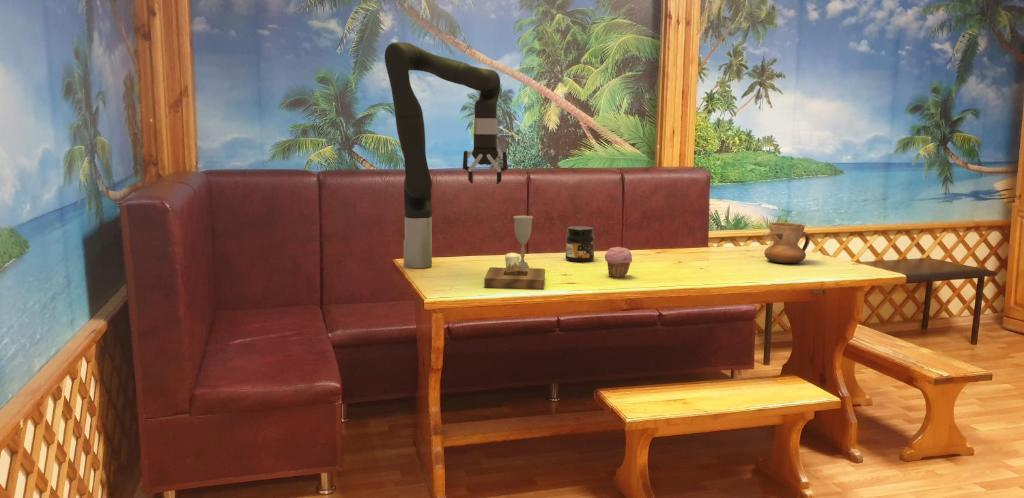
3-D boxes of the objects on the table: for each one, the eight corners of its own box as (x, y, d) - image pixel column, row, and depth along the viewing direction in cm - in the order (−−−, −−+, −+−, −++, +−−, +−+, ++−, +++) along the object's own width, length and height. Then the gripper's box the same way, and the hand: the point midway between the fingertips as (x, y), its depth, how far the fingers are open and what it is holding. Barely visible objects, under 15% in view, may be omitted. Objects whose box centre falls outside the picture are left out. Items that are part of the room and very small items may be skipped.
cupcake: (599, 275, 265) (600, 245, 263) (620, 273, 269) (621, 244, 267) (615, 280, 257) (616, 249, 255) (636, 278, 261) (638, 247, 260)
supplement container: (564, 262, 288) (565, 229, 286) (566, 257, 298) (566, 225, 296) (593, 263, 286) (594, 230, 284) (594, 258, 297) (595, 226, 295)
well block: (484, 287, 243) (484, 278, 242) (489, 276, 261) (489, 267, 260) (543, 289, 242) (543, 279, 241) (544, 277, 259) (544, 268, 259)
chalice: (530, 271, 270) (531, 218, 267) (510, 270, 271) (511, 217, 268) (534, 267, 277) (534, 216, 274) (514, 266, 278) (515, 215, 275)
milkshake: (501, 280, 253) (502, 249, 251) (518, 280, 254) (518, 249, 252) (502, 283, 249) (503, 251, 247) (520, 283, 249) (520, 251, 248)
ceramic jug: (771, 266, 286) (774, 226, 284) (754, 258, 300) (756, 221, 298) (818, 265, 289) (821, 226, 286) (799, 258, 303) (802, 221, 300)
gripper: (461, 132, 252) (461, 184, 254) (506, 133, 251) (506, 185, 254) (464, 132, 259) (464, 182, 262) (508, 133, 258) (507, 183, 261)
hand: (484, 183), depth 258 cm, fingers open, 8 cm apart
